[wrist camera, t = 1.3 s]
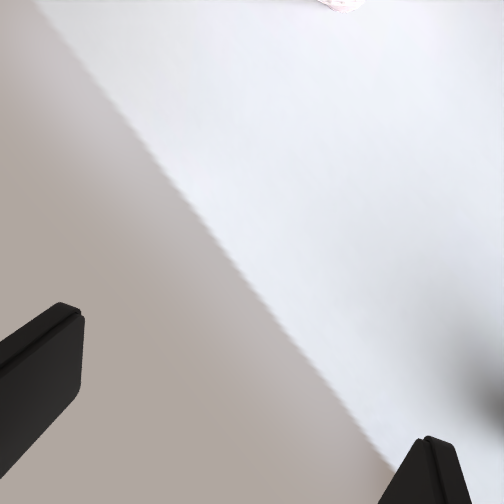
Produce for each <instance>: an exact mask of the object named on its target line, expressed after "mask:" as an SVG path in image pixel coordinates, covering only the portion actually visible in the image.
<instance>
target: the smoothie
mask: <svg viewBox="0 0 504 504" xmlns="http://www.w3.org/2000/svg"><path fill="white" fill-rule="evenodd" d="M318 1H320V2H322V3H324V4H327V5H328V6H329V7H330V8H331V9H332V10H334V11H337V12H341V13H346V12H351V11H353V10H355V9H357V8H358V7H360V6H361V5H362V4H363V3H364V2H365V1H366V0H318Z"/></svg>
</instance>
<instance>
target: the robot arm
mask: <svg viewBox="0 0 504 504" xmlns="http://www.w3.org/2000/svg"><path fill="white" fill-rule="evenodd" d="M84 325H85V318H84V316H82V315H81V311H80V309H78V308H76V307H73V306H70V305H67V304H65V303H61V302H58V303H56V304H54V305H53V306H52V307H50V308H49V309H47V310H46V311H44V312H43V313H41V314H40V315H38V316H37V317H35V318H34V319H33V320H31V321H30V322H28V323H27V324H25V325H24V326H23V327H21V328H19V329H18V330H17V331H15V332H14V333H13V334H11V335H9V336H8V337H6V338H5V339H4V340H2V341H1V342H0V479H1V478H2V477H3V476H4V475H5V474H6V473H7V471H8V470H9V469H10V468H11V467H12V466H13V465H14V464H15V463H16V462H17V461H18V460H19V458H20V457H21V456H22V455H23V454H24V453H25V452H26V451H27V450H28V449H29V448H30V447H31V445H32V444H33V443H34V442H35V441H36V440H37V439H38V438H39V437H40V435H42V434H43V432H44V431H45V430H46V429H47V428H48V427H49V426H50V425H51V424H52V422H54V420H55V419H56V418H57V417H58V416H59V415H60V414H61V413H62V412H63V411H64V409H66V407H67V406H68V405H69V404H70V403H71V402H72V401H73V400H74V399H75V397H76V396H77V394H78V392H79V389H80V386H81V370H82V356H83V341H84ZM378 504H472V502H471V499H470V496H469V492H468V489H467V486H466V483H465V480H464V476H463V473H462V470H461V467H460V464H459V460H458V457H457V454H456V451H455V448H454V446H453V445H452V444H451V443H448V442H445V441H442V440H440V439H437V438H434V437H431V436H426V437H424V439H423V440H422V439H419V438H418V439H417V440H416V441H415V442H414V444H413V446H412V447H411V449H410V451H409V452H408V454H407V455H406V457H405V459H404V460H403V462H402V464H401V465H400V467H399V469H398V470H397V472H396V474H395V475H394V477H393V479H392V480H391V482H390V484H389V485H388V487H387V489H386V490H385V492H384V494H383V495H382V497H381V499H380V500H379V502H378Z"/></svg>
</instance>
